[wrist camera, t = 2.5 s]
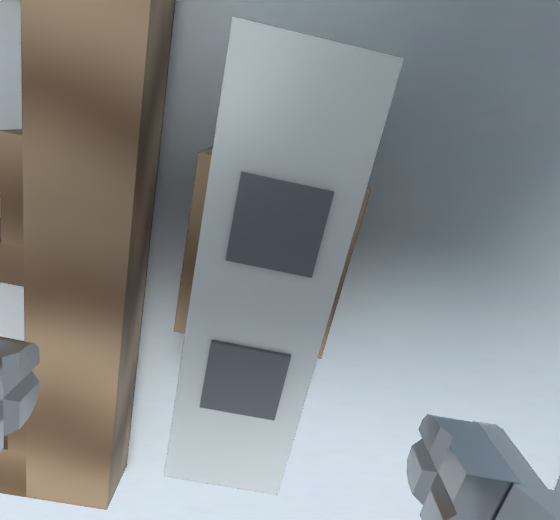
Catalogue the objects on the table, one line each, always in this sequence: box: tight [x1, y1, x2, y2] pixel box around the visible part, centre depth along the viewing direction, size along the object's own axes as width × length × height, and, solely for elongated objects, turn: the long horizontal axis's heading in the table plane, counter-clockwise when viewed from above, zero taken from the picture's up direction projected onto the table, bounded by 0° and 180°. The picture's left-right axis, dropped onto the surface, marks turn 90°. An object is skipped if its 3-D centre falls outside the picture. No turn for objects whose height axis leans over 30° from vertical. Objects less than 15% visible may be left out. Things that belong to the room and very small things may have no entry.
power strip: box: [164, 16, 404, 495], centre depth 14 cm, size 14×4×6 cm, turn 168°
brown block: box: [174, 147, 370, 359], centre depth 16 cm, size 7×6×2 cm
